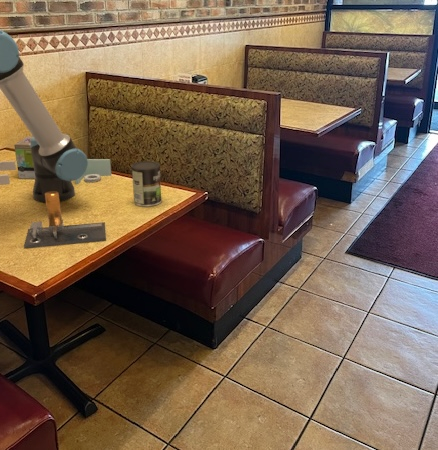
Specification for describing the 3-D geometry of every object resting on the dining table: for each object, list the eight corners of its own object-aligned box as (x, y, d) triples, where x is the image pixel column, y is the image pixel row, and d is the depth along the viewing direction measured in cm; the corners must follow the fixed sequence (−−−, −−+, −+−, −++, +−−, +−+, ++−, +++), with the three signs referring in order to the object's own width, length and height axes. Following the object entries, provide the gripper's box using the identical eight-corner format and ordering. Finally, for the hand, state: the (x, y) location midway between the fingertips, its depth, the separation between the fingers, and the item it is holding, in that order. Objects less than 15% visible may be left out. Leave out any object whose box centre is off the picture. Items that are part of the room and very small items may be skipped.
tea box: (42, 179, 207) (37, 144, 201) (18, 179, 207) (12, 144, 201) (54, 168, 220) (49, 135, 214) (31, 168, 220) (26, 135, 214)
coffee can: (165, 197, 188) (163, 161, 182) (156, 207, 179) (154, 170, 173) (139, 195, 190) (137, 160, 184) (129, 205, 181) (126, 168, 175)
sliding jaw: (50, 227, 160) (45, 191, 155) (63, 226, 161) (58, 190, 156) (48, 239, 152) (43, 201, 147) (62, 238, 153) (57, 200, 148)
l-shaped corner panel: (76, 185, 201) (73, 168, 198) (83, 176, 212) (81, 159, 209) (105, 185, 202) (104, 168, 198) (111, 176, 212) (110, 159, 209)
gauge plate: (28, 231, 160) (27, 221, 159) (105, 225, 165) (104, 214, 164) (24, 248, 150) (22, 237, 148) (106, 240, 155) (105, 229, 153)
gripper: (-53, 175, 156) (19, 171, 160) (-76, 204, 134) (8, 198, 138) (-58, 152, 153) (16, 148, 157) (-83, 177, 131) (3, 172, 135)
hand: (12, 172), depth 148 cm, fingers open, 13 cm apart
